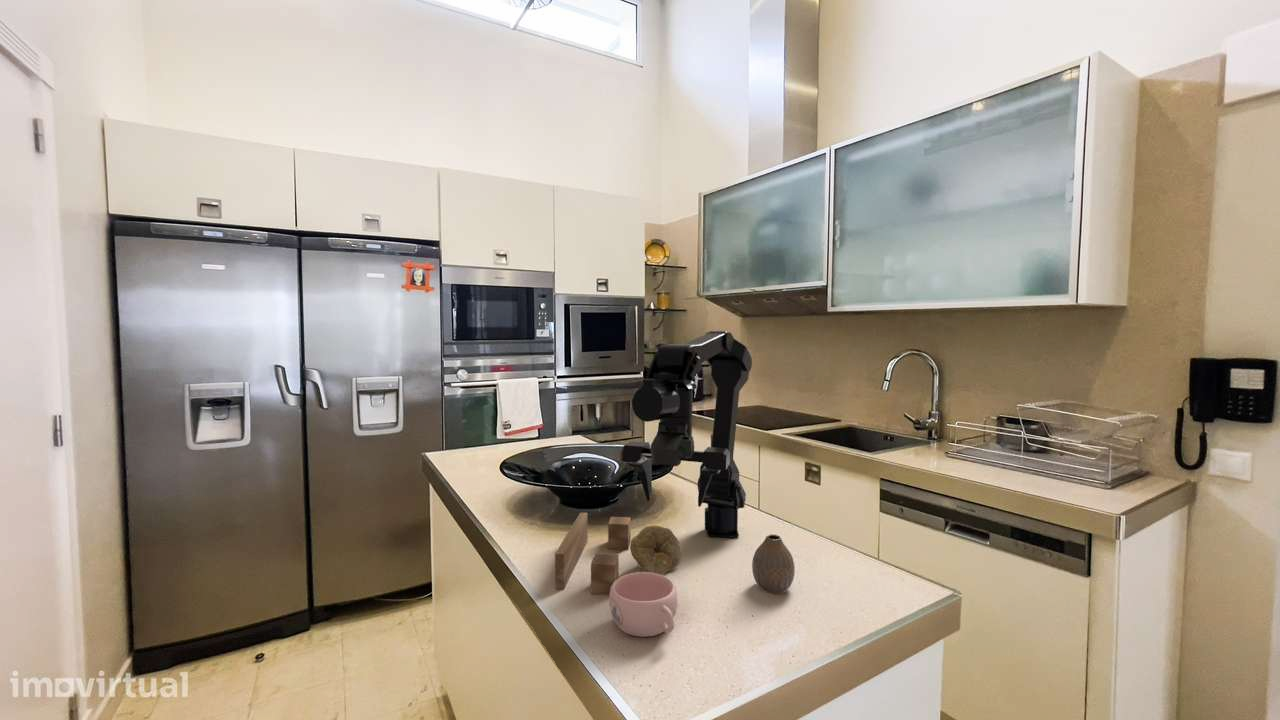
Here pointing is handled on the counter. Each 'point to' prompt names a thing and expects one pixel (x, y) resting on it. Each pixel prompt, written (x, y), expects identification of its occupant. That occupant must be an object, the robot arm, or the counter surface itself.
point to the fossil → (656, 550)
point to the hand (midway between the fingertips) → (674, 503)
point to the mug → (643, 603)
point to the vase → (773, 565)
